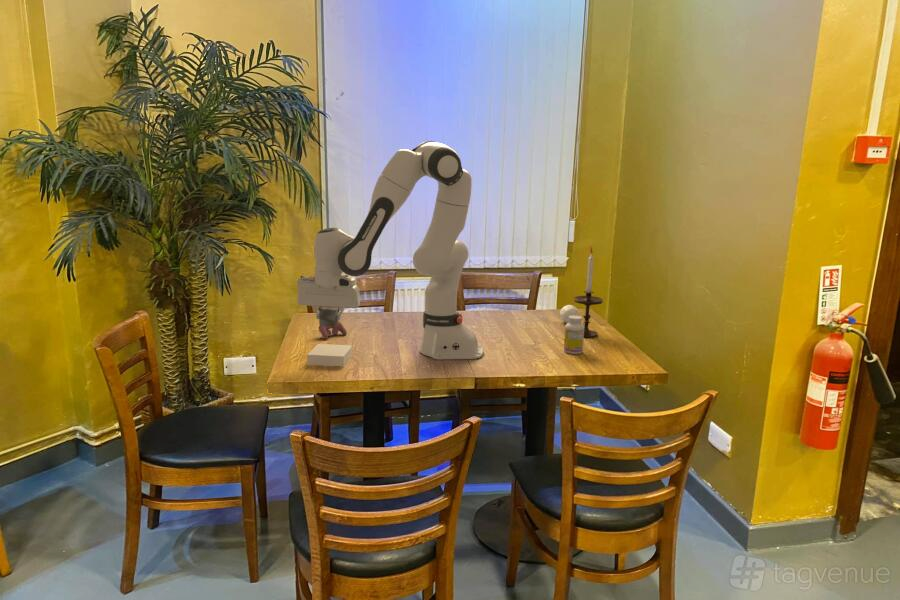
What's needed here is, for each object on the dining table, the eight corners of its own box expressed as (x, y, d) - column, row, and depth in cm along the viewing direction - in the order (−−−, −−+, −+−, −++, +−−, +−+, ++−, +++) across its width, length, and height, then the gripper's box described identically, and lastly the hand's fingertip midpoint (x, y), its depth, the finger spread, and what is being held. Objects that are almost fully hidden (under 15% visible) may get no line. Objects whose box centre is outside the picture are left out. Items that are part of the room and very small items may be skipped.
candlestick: (587, 340, 241) (594, 248, 233) (565, 333, 249) (571, 245, 241) (605, 335, 248) (612, 246, 240) (583, 329, 256) (589, 242, 248)
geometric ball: (563, 329, 266) (552, 313, 266) (575, 320, 270) (564, 304, 270) (574, 324, 259) (563, 308, 259) (586, 315, 263) (575, 299, 263)
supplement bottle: (567, 348, 231) (569, 313, 228) (584, 350, 228) (587, 316, 225) (561, 352, 225) (563, 317, 222) (579, 355, 222) (582, 320, 219)
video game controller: (342, 337, 244) (336, 319, 245) (348, 334, 241) (343, 316, 242) (320, 342, 237) (315, 324, 238) (326, 339, 234) (321, 321, 235)
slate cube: (338, 322, 212) (338, 307, 211) (334, 326, 207) (334, 311, 206) (323, 321, 212) (323, 307, 211) (319, 325, 207) (319, 310, 206)
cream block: (352, 356, 218) (352, 345, 217) (343, 368, 206) (343, 356, 205) (318, 355, 219) (318, 343, 218) (307, 366, 207) (307, 354, 206)
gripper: (294, 278, 204) (294, 320, 207) (357, 281, 202) (356, 323, 205) (300, 274, 210) (301, 315, 213) (361, 277, 208) (361, 318, 211)
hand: (328, 319), depth 209 cm, fingers closed on slate cube, 5 cm apart
